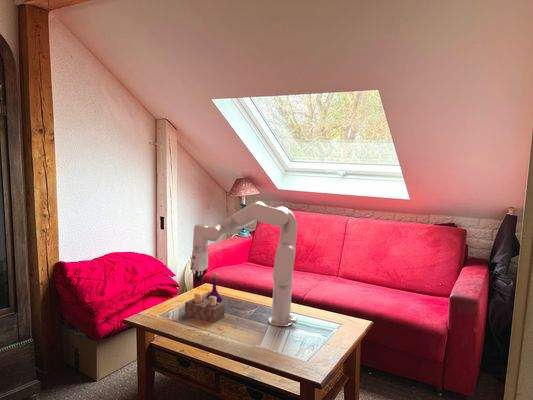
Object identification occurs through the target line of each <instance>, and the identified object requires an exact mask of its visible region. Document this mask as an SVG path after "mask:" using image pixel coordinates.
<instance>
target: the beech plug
mask: <svg viewBox="0 0 533 400" xmlns="http://www.w3.org/2000/svg"><path fill="white" fill-rule="evenodd" d="M216 298H217V297H215V296H210V297H209V303H208V306H210V307H215V306H216Z"/></svg>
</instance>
